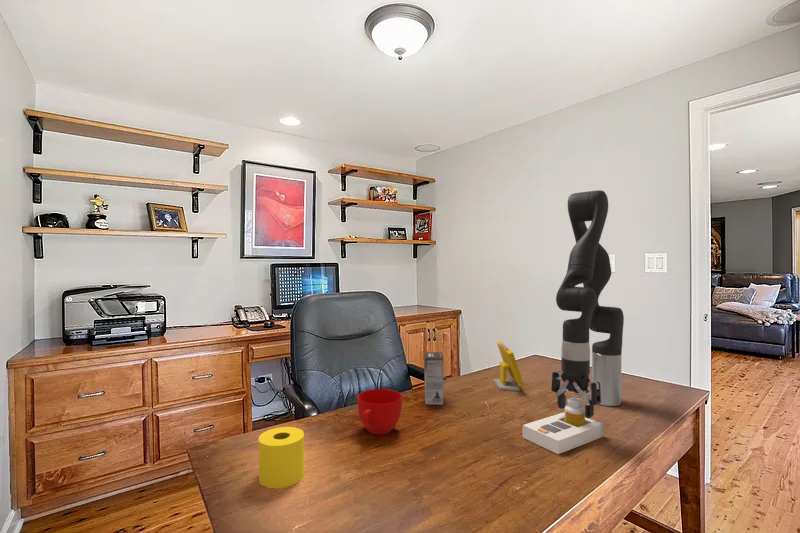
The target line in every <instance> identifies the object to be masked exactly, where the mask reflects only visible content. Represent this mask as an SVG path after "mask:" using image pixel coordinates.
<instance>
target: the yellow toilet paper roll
mask: <svg viewBox="0 0 800 533" xmlns="http://www.w3.org/2000/svg"><path fill="white" fill-rule="evenodd" d="M304 476H305V432H304V430H302V429H301V428H298V427H293V426H281V427H275V428H271V429H268V430H266V431H264V432H262V433H261V434H260V435H259V436H258V483H259V484H260V486H262V485H263V486H265V487H264V488H266V487H269V488H268V489H271V488H280V489H284V488H285V487H286V488H289V487H288V486H290V487H292V486H294V484H295V485H296V484H298V483H299V482H301V481H302V480H303V479H304ZM301 479H302V480H301ZM300 480H301V481H300ZM263 486H262V487H263ZM286 488H285V489H286Z"/></svg>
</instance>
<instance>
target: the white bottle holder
mask: <svg viewBox="0 0 800 533" xmlns="http://www.w3.org/2000/svg"><path fill="white" fill-rule="evenodd" d="M564 419H565V411H563V412H560V413H558V414H554V415H551V416H547V417H544V418H541V419H538V420H534V421H532V422H528V423H524V424H523V425H522V438H523V439H525V440H527V441H529V442H531V443H534V444H536V445H537V446H540V447H542V448H544V449H545V450H548V451H551V452H552V453H555V454H557V455H560V454H563V453H565V452H567V451H570V450H572V449H575V448H577V447H581V446H583V445H585V444H588V443H591V442H593V441H596V440H598V439H601V438H603V437H604V436H605V431H604V430H605V423H602V422H598V421H596V420H593V419H592V418H586V417H585V425H583V426H580V427H575V426H573V425H570V424H568V423H565V422H564Z"/></svg>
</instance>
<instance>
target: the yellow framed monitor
mask: <svg viewBox="0 0 800 533" xmlns="http://www.w3.org/2000/svg"><path fill="white" fill-rule="evenodd" d="M496 344H497V346H498V349H499V353H500V355H501V356H500V357H501V359H502V361H500V362H499V378H493V383H494V384H495V385H496V387H497V389H498V390H500V391H506V392H507V391H508V392H521V388H520V387H522V386H524V381H523V379H522V378H523V377H522V376H521V371H520V370H519V367H518V363H517V360H516V358H515V357H516V356H515V355H514V351H512V350H510V349H509V347H507V346H506V345H505V344H504V343H503V342H502V341H498V342H497V343H496ZM507 373H508V375H509V376H510V377H511V378H510V377H508V378H507Z"/></svg>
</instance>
